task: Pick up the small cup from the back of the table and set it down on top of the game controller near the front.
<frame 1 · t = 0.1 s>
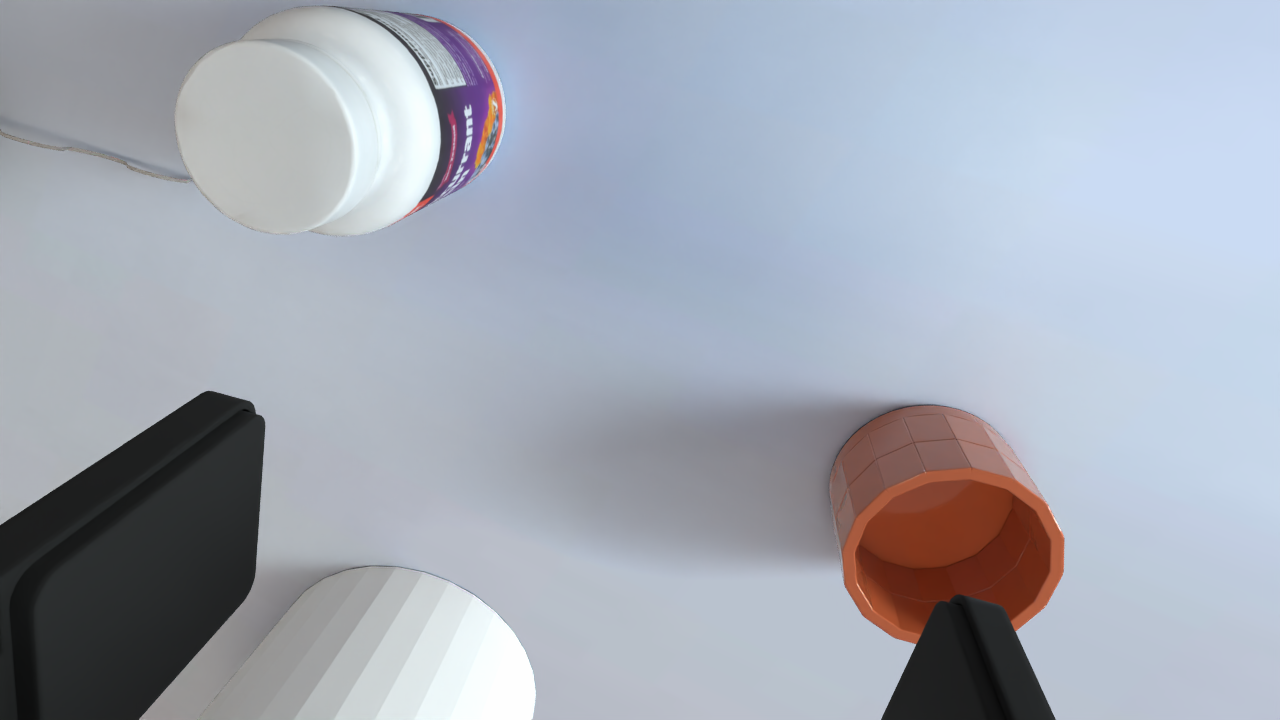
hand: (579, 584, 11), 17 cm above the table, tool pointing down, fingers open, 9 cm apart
bottle: (407, 674, 35), on the table
small cup: (921, 487, 29), on the table
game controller: (29, 136, 28), on the table
pill bottle: (430, 105, 26), on the table
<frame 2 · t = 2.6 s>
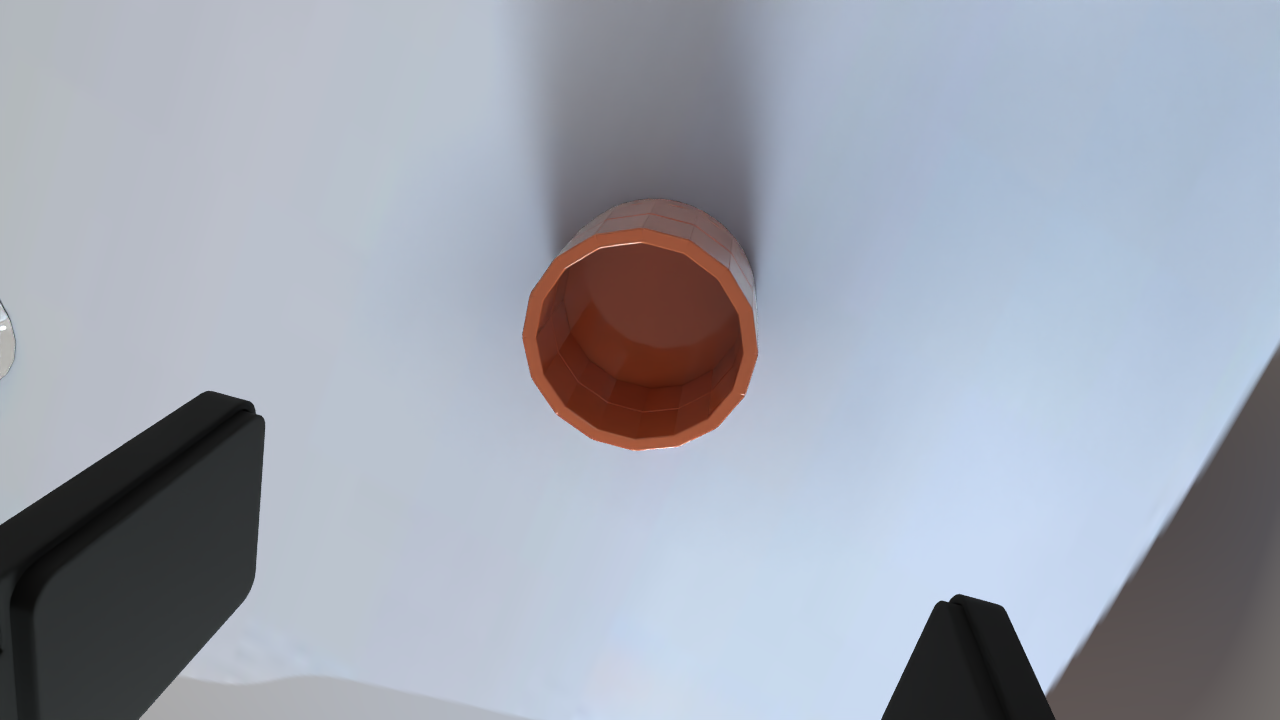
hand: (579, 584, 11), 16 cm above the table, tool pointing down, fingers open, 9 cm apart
small cup: (655, 297, 27), on the table
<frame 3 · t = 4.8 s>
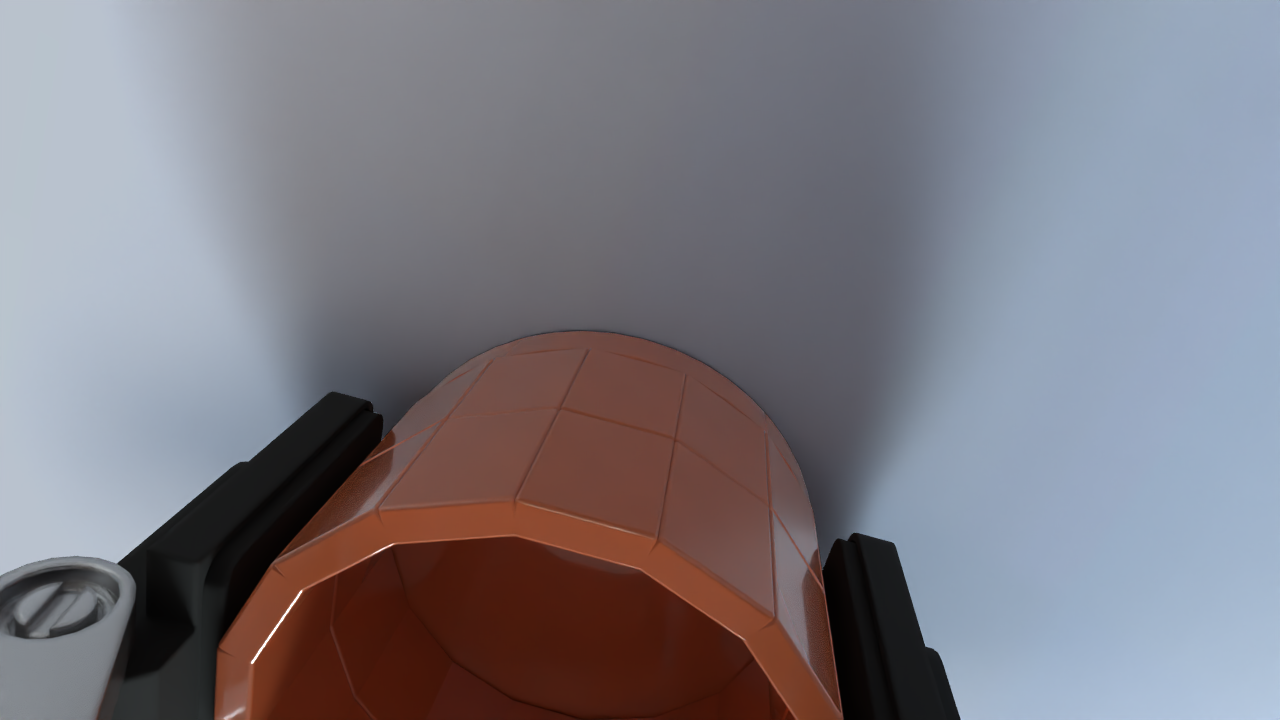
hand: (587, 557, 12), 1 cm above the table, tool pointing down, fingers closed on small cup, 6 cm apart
small cup: (595, 530, 12), on the table, touching gripper
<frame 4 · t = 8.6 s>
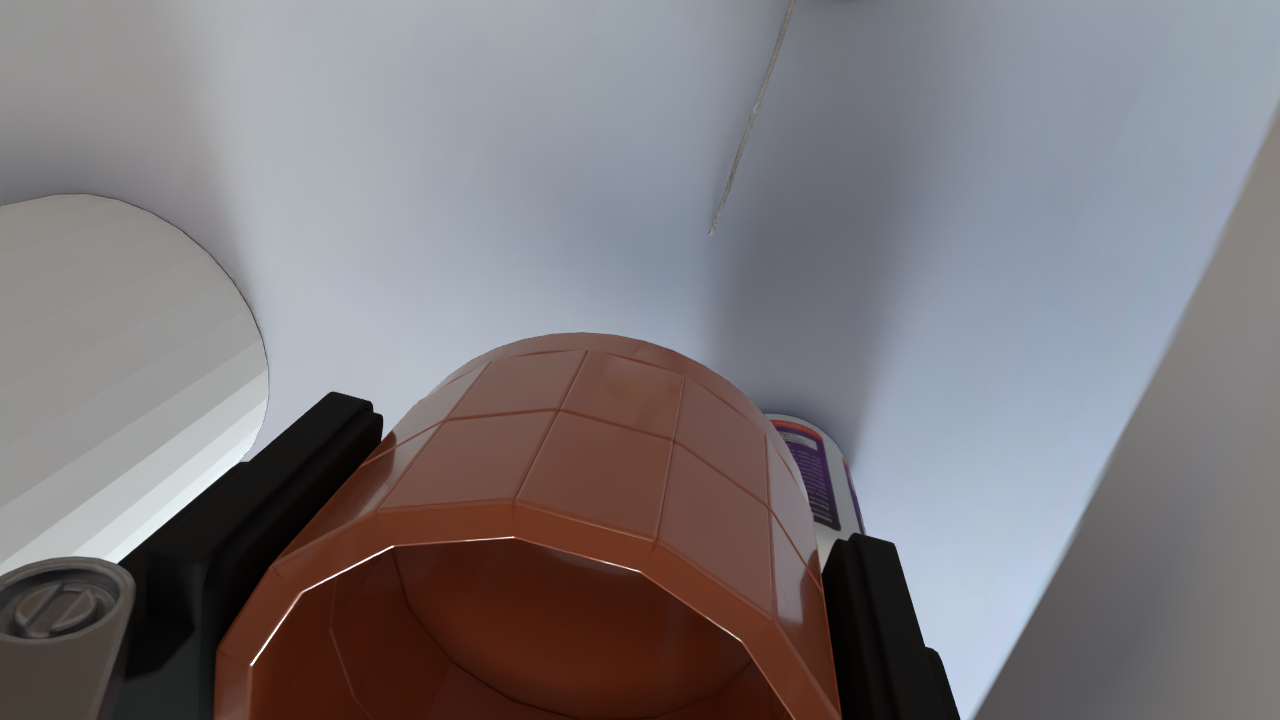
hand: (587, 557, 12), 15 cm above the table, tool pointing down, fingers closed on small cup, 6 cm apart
bottle: (120, 350, 29), on the table
small cup: (594, 532, 12), point 15 cm above the table, touching gripper
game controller: (768, 29, 23), on the table
pill bottle: (769, 477, 28), on the table
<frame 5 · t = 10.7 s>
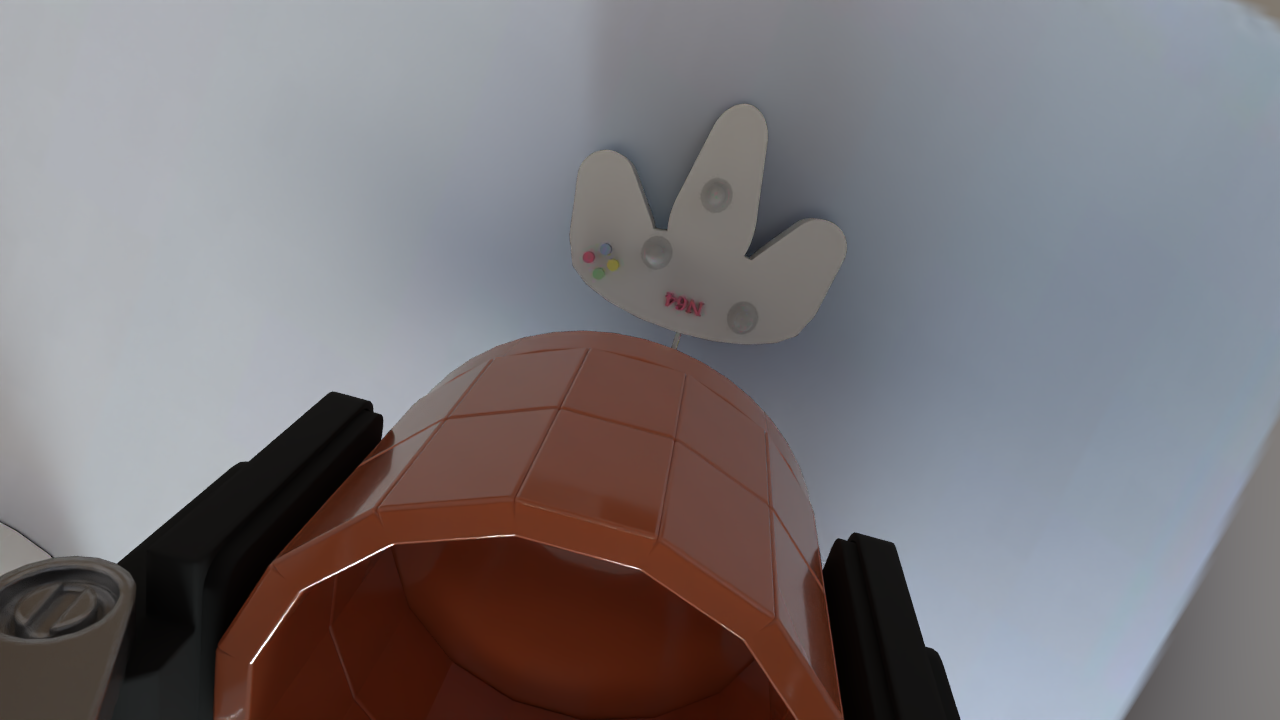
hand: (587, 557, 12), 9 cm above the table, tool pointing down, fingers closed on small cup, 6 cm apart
small cup: (595, 530, 12), point 8 cm above the table, touching gripper
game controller: (657, 346, 20), on the table
when the fingers open (3 cm above the table, at t = 12.5 s): small cup stays where it is, resting on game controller.
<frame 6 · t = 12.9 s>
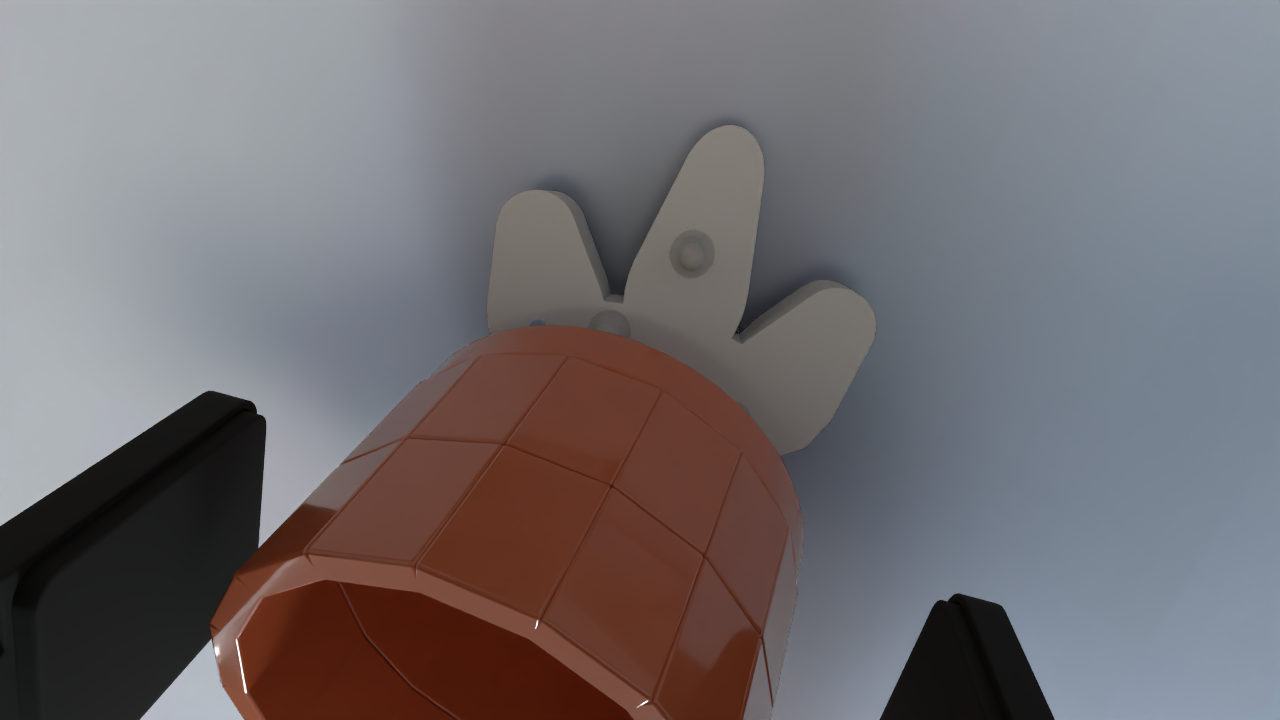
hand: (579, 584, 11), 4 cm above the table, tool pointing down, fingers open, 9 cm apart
small cup: (597, 502, 13), point 2 cm above the table, tilted 17°, touching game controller
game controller: (618, 441, 15), on the table, touching small cup
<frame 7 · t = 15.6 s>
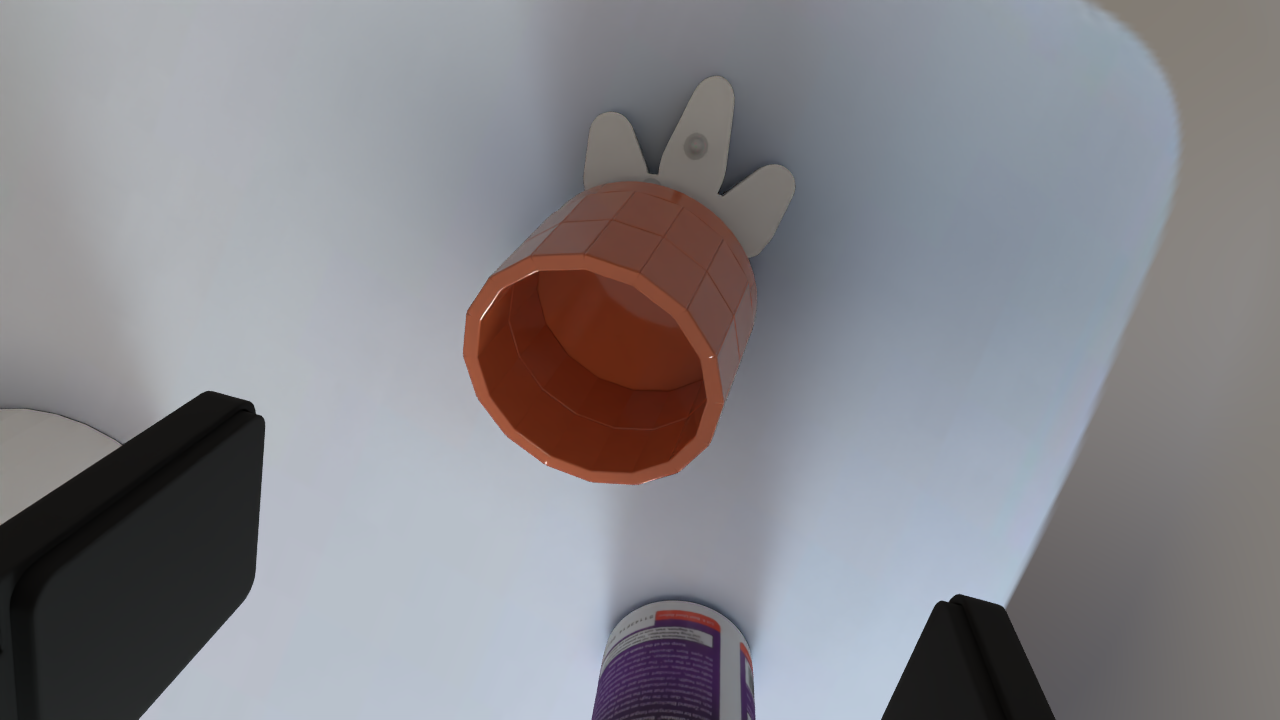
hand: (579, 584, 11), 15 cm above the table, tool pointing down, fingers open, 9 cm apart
bottle: (65, 541, 31), on the table
small cup: (643, 290, 23), point 2 cm above the table, tilted 16°, touching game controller
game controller: (650, 272, 25), on the table, touching small cup
pill bottle: (678, 652, 30), on the table
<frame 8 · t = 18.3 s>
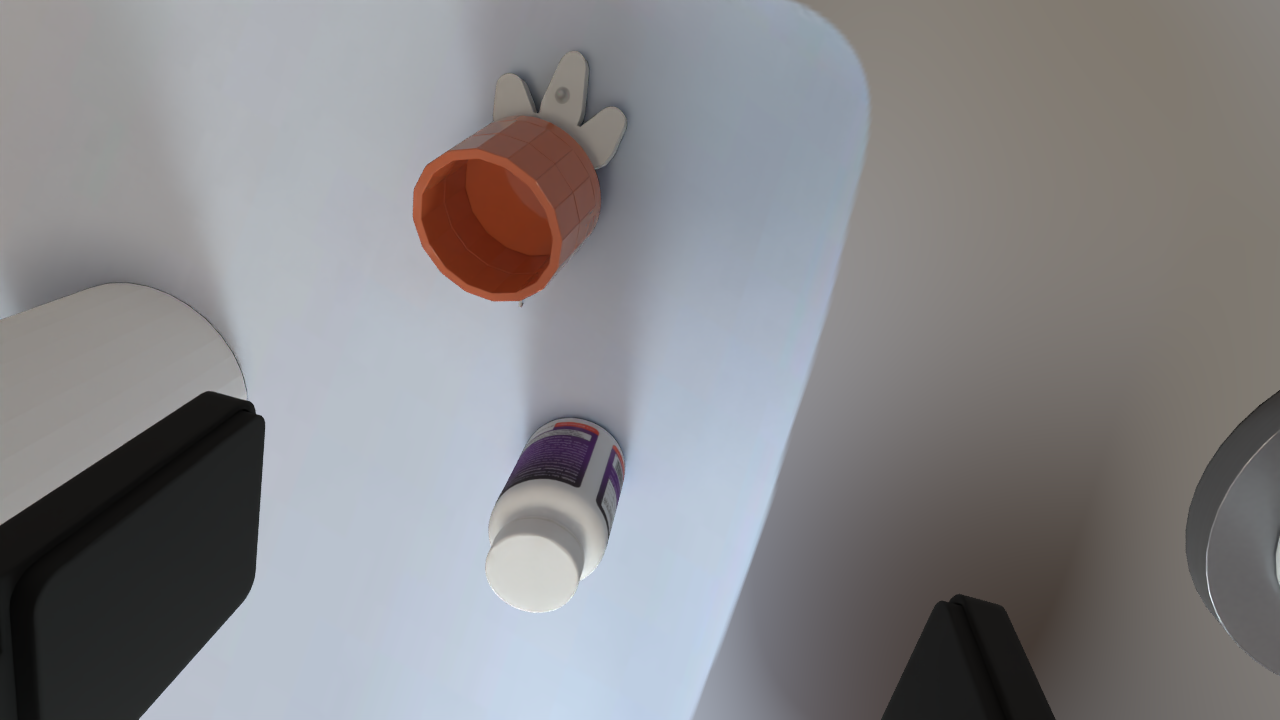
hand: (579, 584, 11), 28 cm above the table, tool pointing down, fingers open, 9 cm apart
bottle: (149, 382, 44), on the table
small cup: (532, 188, 36), point 2 cm above the table, tilted 16°, touching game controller
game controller: (544, 182, 38), on the table, touching small cup
pill bottle: (576, 460, 43), on the table
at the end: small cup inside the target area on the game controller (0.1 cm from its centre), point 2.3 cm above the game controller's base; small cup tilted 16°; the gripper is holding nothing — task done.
